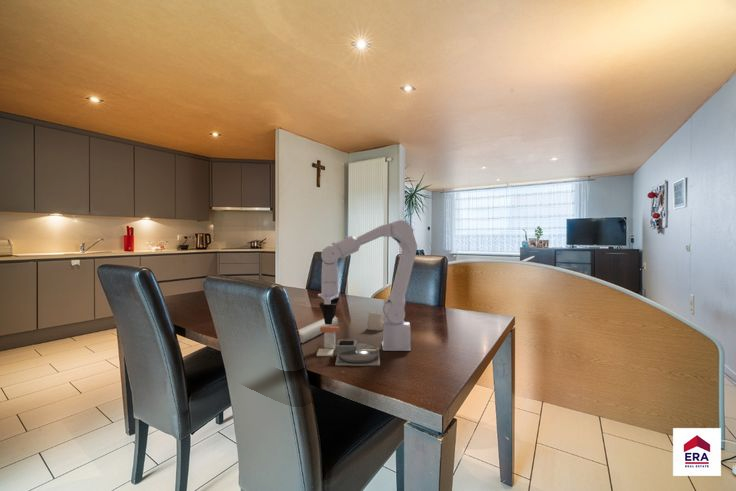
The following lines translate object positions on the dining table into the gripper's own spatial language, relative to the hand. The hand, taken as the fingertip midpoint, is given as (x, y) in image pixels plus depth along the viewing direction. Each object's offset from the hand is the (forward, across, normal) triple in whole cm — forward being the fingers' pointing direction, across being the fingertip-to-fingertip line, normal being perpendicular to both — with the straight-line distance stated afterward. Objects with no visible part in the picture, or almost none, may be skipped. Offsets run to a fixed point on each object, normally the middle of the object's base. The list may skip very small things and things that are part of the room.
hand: (329, 321), depth 108 cm
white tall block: (+10, 0, 0) cm, 10 cm away
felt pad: (+10, +4, -1) cm, 10 cm away
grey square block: (+10, -23, +16) cm, 30 cm away
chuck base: (+10, +7, +10) cm, 16 cm away
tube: (+10, -15, -7) cm, 20 cm away
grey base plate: (+10, +7, +10) cm, 16 cm away
